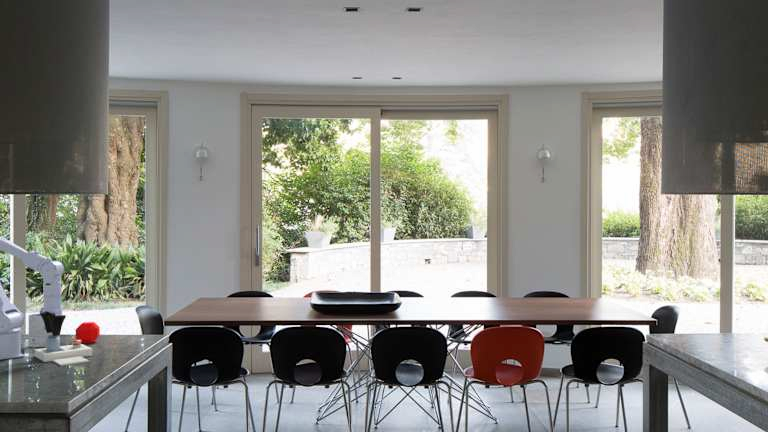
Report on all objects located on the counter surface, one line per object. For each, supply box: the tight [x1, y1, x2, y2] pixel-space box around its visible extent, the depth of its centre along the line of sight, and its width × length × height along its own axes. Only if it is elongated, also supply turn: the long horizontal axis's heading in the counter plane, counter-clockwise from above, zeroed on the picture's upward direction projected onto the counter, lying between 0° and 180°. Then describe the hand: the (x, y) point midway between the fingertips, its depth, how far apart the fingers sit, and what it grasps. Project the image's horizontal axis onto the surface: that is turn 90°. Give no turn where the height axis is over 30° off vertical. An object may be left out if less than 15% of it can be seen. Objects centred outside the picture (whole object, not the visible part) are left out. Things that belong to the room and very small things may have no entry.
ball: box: [75, 321, 101, 344], centre depth 282 cm, size 8×8×8 cm
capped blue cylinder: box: [45, 335, 61, 353], centre depth 254 cm, size 4×4×8 cm
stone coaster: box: [52, 356, 90, 367], centre depth 246 cm, size 9×9×1 cm
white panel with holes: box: [34, 343, 93, 363], centre depth 256 cm, size 16×12×2 cm
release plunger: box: [71, 339, 82, 349], centre depth 259 cm, size 3×3×4 cm
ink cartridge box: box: [27, 307, 61, 348], centre depth 274 cm, size 10×6×14 cm, turn 89°
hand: (53, 334), depth 254 cm, fingers open, 7 cm apart
